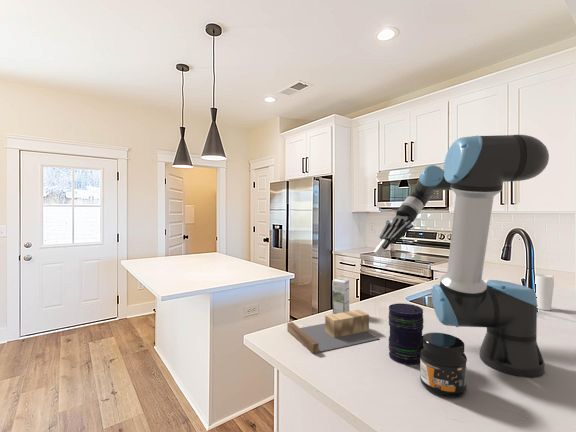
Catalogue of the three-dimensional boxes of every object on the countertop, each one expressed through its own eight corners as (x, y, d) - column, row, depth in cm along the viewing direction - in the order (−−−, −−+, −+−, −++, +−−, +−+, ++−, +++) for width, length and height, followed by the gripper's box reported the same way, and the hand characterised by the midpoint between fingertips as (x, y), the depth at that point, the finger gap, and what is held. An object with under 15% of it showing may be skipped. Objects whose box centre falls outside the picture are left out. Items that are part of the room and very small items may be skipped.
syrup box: (349, 311, 134) (349, 279, 134) (344, 315, 129) (344, 281, 129) (337, 309, 137) (337, 277, 137) (332, 313, 132) (332, 280, 132)
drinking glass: (557, 311, 132) (558, 277, 132) (542, 311, 132) (542, 277, 132) (544, 306, 139) (545, 273, 138) (529, 306, 139) (530, 273, 139)
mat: (346, 320, 123) (346, 319, 123) (379, 339, 105) (379, 338, 105) (292, 330, 114) (292, 329, 114) (318, 352, 96) (318, 351, 96)
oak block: (358, 309, 117) (325, 315, 111) (368, 314, 112) (334, 320, 106) (359, 325, 117) (325, 331, 111) (369, 330, 112) (334, 337, 106)
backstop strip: (292, 330, 114) (292, 322, 114) (318, 352, 96) (318, 343, 96) (287, 330, 113) (287, 322, 113) (313, 354, 95) (312, 344, 95)
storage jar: (382, 357, 92) (382, 308, 92) (396, 346, 99) (396, 301, 99) (416, 369, 85) (416, 316, 85) (428, 356, 92) (428, 307, 92)
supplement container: (414, 388, 76) (414, 340, 76) (426, 371, 84) (426, 328, 84) (461, 405, 69) (461, 353, 69) (470, 385, 77) (470, 338, 77)
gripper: (427, 217, 118) (394, 263, 112) (402, 216, 130) (371, 258, 124) (417, 203, 116) (382, 249, 110) (392, 204, 128) (360, 245, 121)
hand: (376, 254), depth 117 cm, fingers closed
